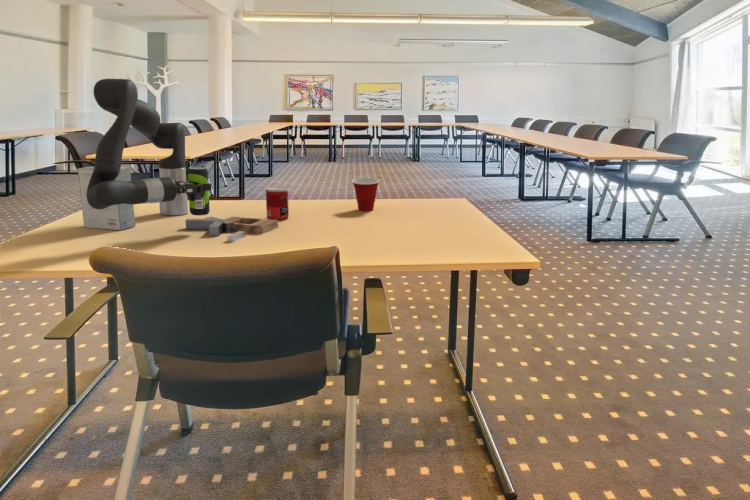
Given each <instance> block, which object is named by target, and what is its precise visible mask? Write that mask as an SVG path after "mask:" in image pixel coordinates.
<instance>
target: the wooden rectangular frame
mask: <svg viewBox="0 0 750 500" xmlns="http://www.w3.org/2000/svg"><path fill="white" fill-rule="evenodd" d="M223 219H224V220H228V221H232V222H234V224H233V231H232V232H234V233H236V232H238V231H245V233H250V234H260V235H263V234H266V233H268V232H270V231H273V230H276V229H277V228H279V221H278V220H271V219H268V218H257V217H256V218H255V217H244V216H234V215H233V216H232V215H231V216H228V217H225V218H223Z"/></svg>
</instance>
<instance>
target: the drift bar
mask: <svg viewBox="0 0 750 500" xmlns="http://www.w3.org/2000/svg"><path fill="white" fill-rule="evenodd" d="M245 237H246V232H245V231H238V232H234V233H231V234H229V235H227V236H226V238H227V239H226V241H227V243H229V242H230V243H234V242H235V243H236V242H237V241H239V240H241V239H244V238H245Z"/></svg>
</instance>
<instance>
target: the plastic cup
mask: <svg viewBox="0 0 750 500" xmlns="http://www.w3.org/2000/svg"><path fill="white" fill-rule="evenodd" d="M351 182H352V185H353V187H354V192H355V200H356V203H357V209H358V210H359V211H361V212H371V211H373V210H374V207H375V202H376V196H377V189H378V186H379V183H380V182H381V181H380V179H378V178H375V177H357V178H353V179H352V180H351Z"/></svg>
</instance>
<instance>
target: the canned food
mask: <svg viewBox="0 0 750 500" xmlns="http://www.w3.org/2000/svg"><path fill="white" fill-rule="evenodd" d="M265 200H266V201H265V203H266V205H265V207H266V219H271V220H278V222H279V221H285V220H288V219H289V217H290V216H289V214H290V213H289V189H288V188H287V187H284V186H283V187H280V186H274V187H273V186H272V187H266V189H265Z"/></svg>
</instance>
